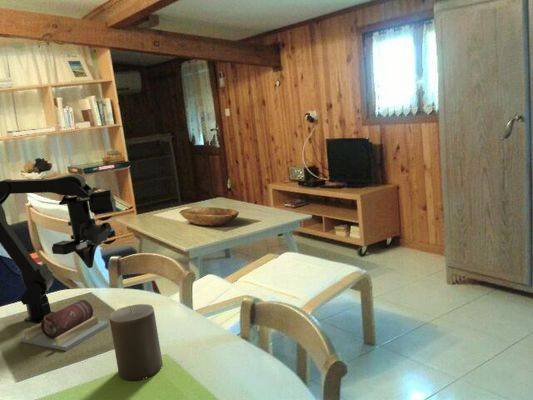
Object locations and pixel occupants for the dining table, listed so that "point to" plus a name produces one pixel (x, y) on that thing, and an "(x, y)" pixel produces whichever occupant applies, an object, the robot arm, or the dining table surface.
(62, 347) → the tray
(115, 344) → the pillar candle
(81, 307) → the can
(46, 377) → the dining table surface
